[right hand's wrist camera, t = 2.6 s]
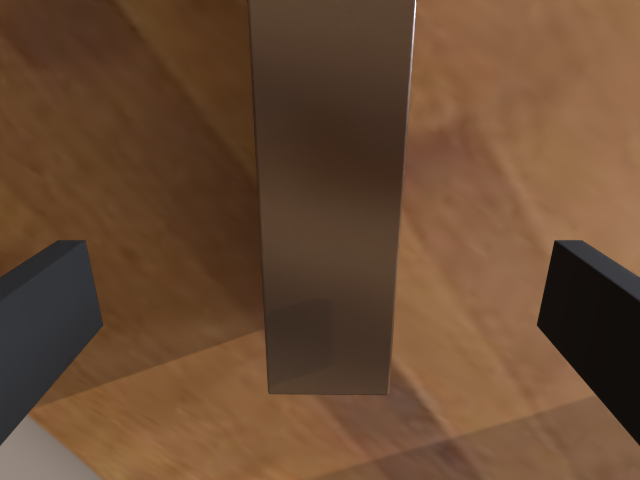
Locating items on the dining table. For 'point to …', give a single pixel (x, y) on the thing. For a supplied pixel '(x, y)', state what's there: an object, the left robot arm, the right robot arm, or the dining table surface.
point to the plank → (330, 186)
